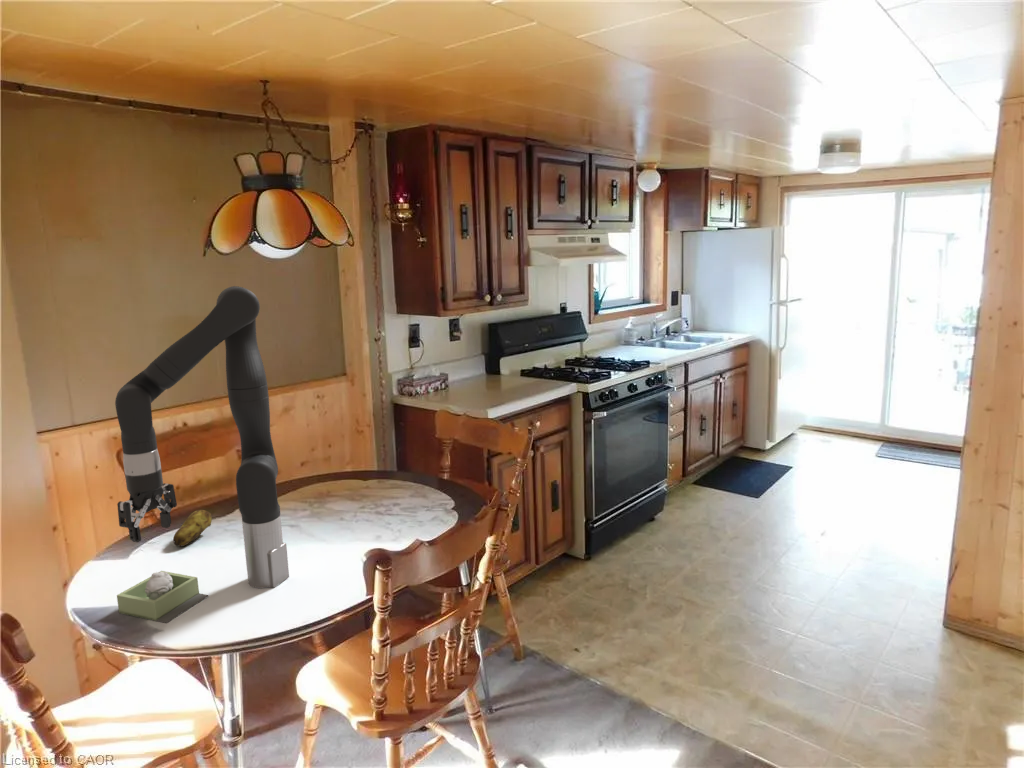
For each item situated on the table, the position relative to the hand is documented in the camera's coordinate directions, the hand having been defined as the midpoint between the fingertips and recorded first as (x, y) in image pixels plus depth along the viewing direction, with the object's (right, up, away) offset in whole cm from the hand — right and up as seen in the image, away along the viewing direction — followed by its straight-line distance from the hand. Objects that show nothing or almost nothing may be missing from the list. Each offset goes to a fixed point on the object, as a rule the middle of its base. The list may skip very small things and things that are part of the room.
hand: (151, 534), depth 161 cm
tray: (+2, -18, +3) cm, 18 cm away
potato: (-9, -11, +40) cm, 42 cm away
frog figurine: (0, -17, +4) cm, 18 cm away
